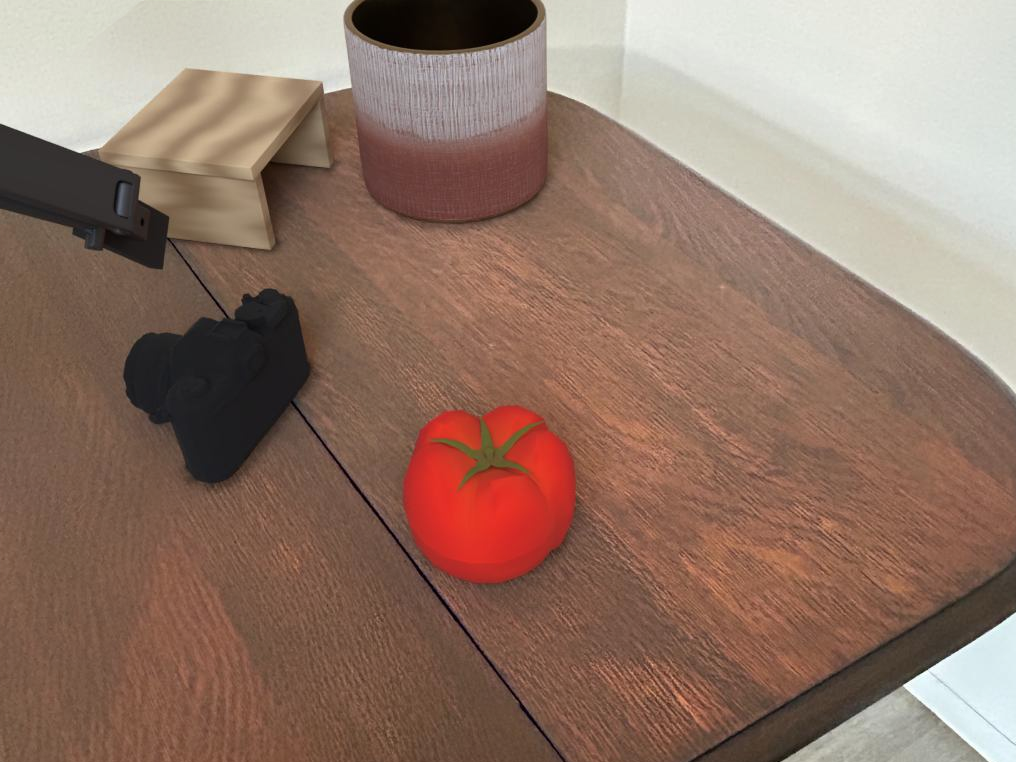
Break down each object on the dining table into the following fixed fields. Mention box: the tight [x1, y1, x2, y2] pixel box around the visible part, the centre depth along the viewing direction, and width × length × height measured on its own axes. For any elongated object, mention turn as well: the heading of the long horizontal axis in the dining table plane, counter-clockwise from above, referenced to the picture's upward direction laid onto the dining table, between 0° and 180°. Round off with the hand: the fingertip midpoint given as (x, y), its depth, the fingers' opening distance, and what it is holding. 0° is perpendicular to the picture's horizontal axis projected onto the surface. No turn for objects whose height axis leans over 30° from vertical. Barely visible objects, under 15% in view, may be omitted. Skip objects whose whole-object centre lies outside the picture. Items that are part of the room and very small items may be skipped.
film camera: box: [122, 287, 311, 484], centre depth 73 cm, size 15×10×9 cm, turn 161°
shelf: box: [97, 67, 335, 251], centre depth 95 cm, size 14×17×8 cm
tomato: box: [402, 404, 577, 584], centre depth 64 cm, size 11×12×9 cm
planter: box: [342, 0, 549, 223], centre depth 94 cm, size 18×18×16 cm
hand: (39, 228), depth 53 cm, fingers open, 13 cm apart
